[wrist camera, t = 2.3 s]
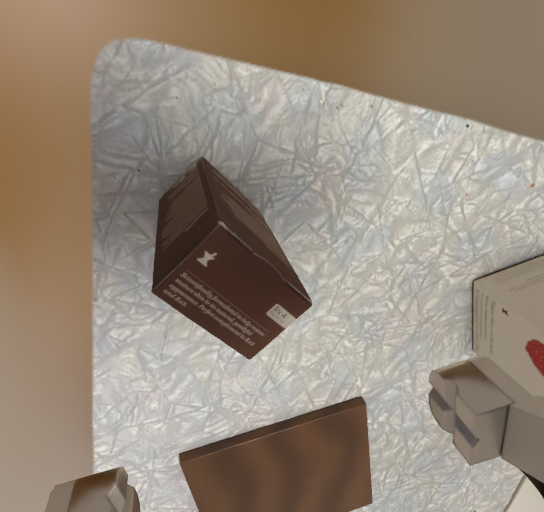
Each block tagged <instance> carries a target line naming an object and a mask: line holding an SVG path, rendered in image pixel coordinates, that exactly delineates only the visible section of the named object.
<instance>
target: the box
mask: <svg viewBox="0 0 544 512" xmlns="http://www.w3.org/2000/svg"><path fill="white" fill-rule="evenodd" d="M152 293H153V294H155V295H156V296H158V297H159V298H161V299H162V300H163V301H165V302H166V303H168V304H169V305H171V306H172V307H173V308H175V309H176V310H178V311H179V312H180V313H182V314H183V315H185V316H186V317H187V318H189V319H190V320H192V321H193V322H195V323H196V324H198V325H199V326H201V327H202V328H204V329H205V330H207V331H208V332H209V333H211V334H212V335H214V336H215V337H217V338H218V339H220V340H221V341H223V342H224V343H225V344H227V345H228V346H230V347H231V348H233V349H234V350H236V351H237V352H239V353H240V354H242V355H243V356H245V357H246V358H247V359H251V358H253V357H254V356H255V355H256V354H257V353H258V352H260V351H261V350H262V349H263V348H264V347H265V346H267V345H268V344H269V343H270V342H271V341H272V340H273V339H274V338H276V337H277V336H278V335H279V334H280V333H281V332H282V331H283V330H284V329H286V328H287V327H288V326H289V325H290V324H291V323H292V322H293V321H295V320H296V319H297V318H298V317H299V316H300V315H302V314H303V313H304V312H305V311H306V310H308V309H309V308H310V307H311V306H312V301H311V299H310V297H309V296H308V294H307V292H306V290H305V288H304V287H303V285H302V283H301V281H300V280H299V278H298V276H297V274H296V273H295V271H294V270H293V268H292V266H291V265H290V263H289V261H288V259H287V258H286V256H285V254H284V252H283V251H282V249H281V247H280V245H279V244H278V242H277V240H276V239H275V237H274V235H273V233H272V232H271V230H270V228H269V226H268V225H267V223H266V222H265V220H264V218H263V217H262V215H261V213H260V212H259V211H258V210H257V209H256V208H255V207H254V206H253V205H252V204H251V203H250V202H249V201H248V200H247V199H246V198H245V197H244V196H243V195H242V194H241V193H240V192H239V191H238V190H237V189H236V188H235V187H234V186H233V185H232V184H231V183H230V182H229V181H228V180H227V179H226V178H225V177H224V176H223V175H221V174H220V173H219V172H218V171H217V170H216V169H215V168H214V167H213V166H212V165H211V164H210V163H209V162H208V161H207V160H205V159H204V158H203V157H201V158H200V159H199V160H197V161H196V162H195V163H194V164H193V165H192V166H191V167H190V168H189V169H188V170H187V171H186V173H185V174H184V175H182V176H181V178H180V179H179V180H178V181H177V182H176V183H175V184H174V185H173V186H172V187H171V188H170V189H169V190H168V191H167V192H166V193H165V194H164V195H163V197H162V198H161V199H159V209H158V221H157V233H156V247H155V259H154V271H153V285H152Z"/></svg>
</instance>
